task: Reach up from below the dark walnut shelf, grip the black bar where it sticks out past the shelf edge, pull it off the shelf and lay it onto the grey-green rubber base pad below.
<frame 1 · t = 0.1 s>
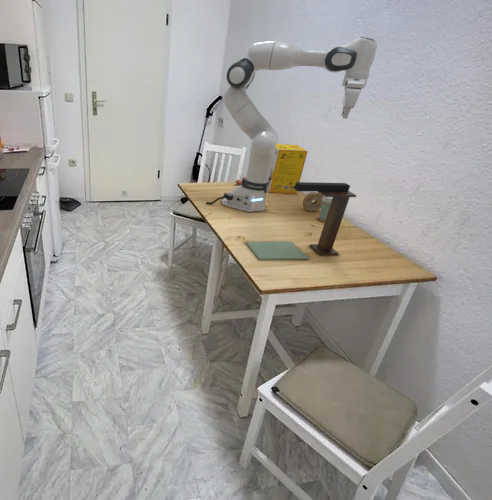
hand: (344, 117, 157), 48 cm above the table, tool pointing down, fingers open, 8 cm apart
base pad: (275, 251, 146), on the table
stone disc: (310, 210, 190), on the table
shelf stand: (300, 250, 148), on the table
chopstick: (242, 187, 218), on the table
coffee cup: (325, 220, 178), on the table
black bar: (321, 190, 136), point 26 cm above the table, touching shelf stand
packaging box: (278, 189, 220), on the table
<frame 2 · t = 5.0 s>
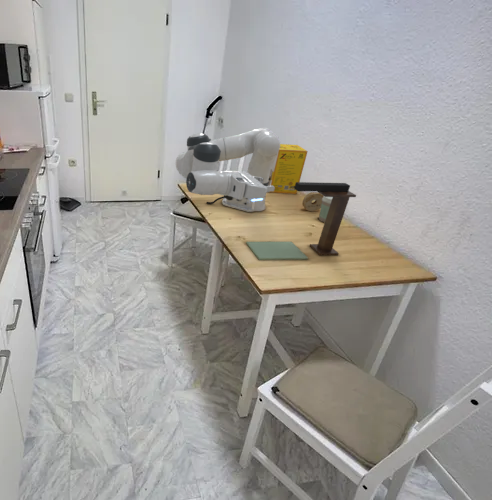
hand: (268, 184, 132), 28 cm above the table, tool horizontal, fingers open, 8 cm apart
nothing on the table moved.
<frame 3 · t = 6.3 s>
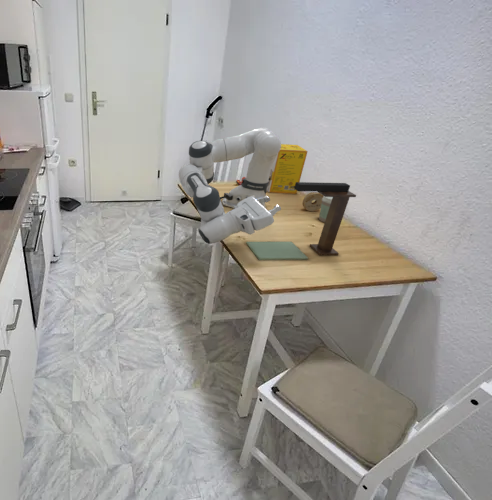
hand: (274, 202, 136), 21 cm above the table, tool pointing upward, fingers open, 8 cm apart
nothing on the table moved.
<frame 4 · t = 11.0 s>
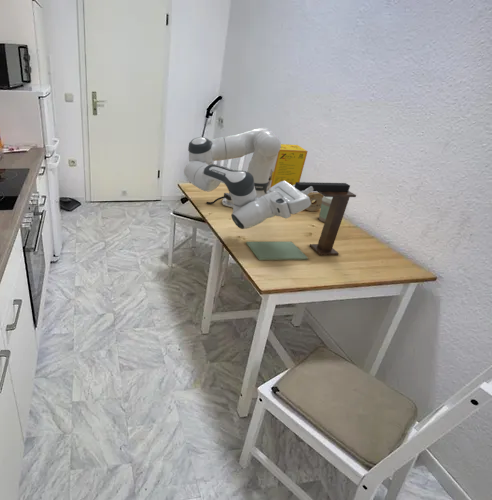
hand: (309, 185, 134), 28 cm above the table, tool pointing upward, fingers closed on black bar, 3 cm apart
black bar: (321, 190, 136), point 26 cm above the table, touching gripper, shelf stand
everything else where it was.
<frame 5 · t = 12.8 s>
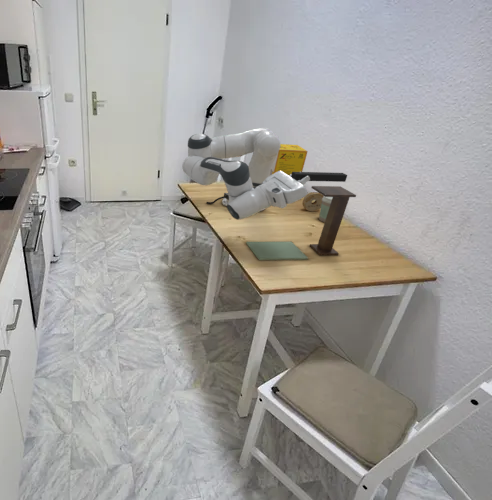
hand: (305, 175, 132), 32 cm above the table, tool pointing upward, fingers closed on black bar, 3 cm apart
black bar: (317, 180, 133), point 30 cm above the table, touching gripper
everything else where it was.
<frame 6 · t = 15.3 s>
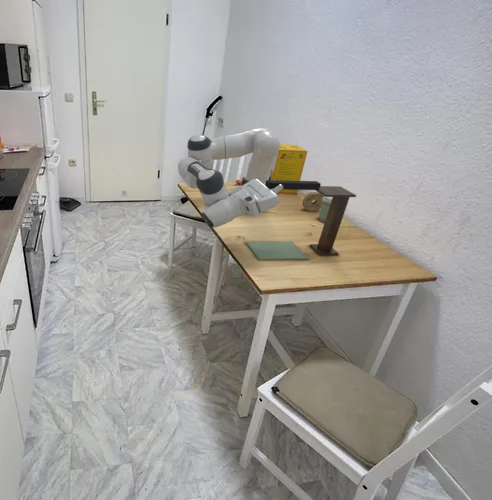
hand: (279, 184, 133), 28 cm above the table, tool pointing upward, fingers closed on black bar, 3 cm apart
black bar: (291, 188, 134), point 27 cm above the table, touching gripper
everything else where it was.
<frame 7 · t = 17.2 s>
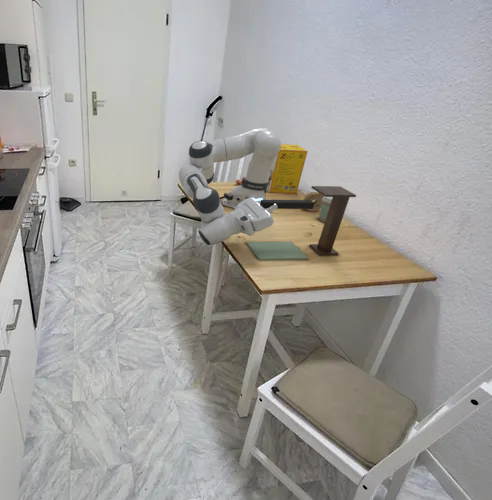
hand: (274, 203, 136), 21 cm above the table, tool pointing upward, fingers closed on black bar, 3 cm apart
black bar: (286, 207, 138), point 19 cm above the table, touching gripper
everything else where it was.
when the fingers open (15 cm above the table, at t = 19.2 s): black bar drops 13 cm, resting on base pad.
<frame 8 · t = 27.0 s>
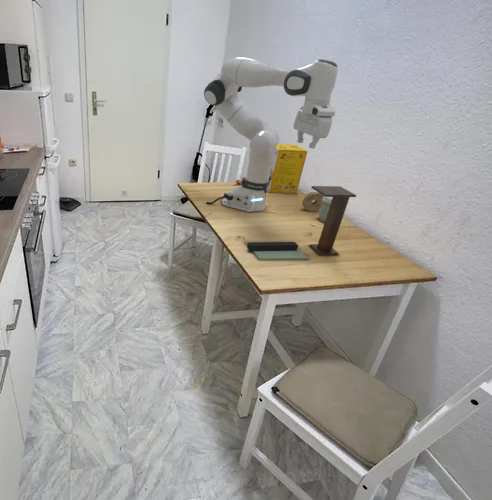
hand: (305, 145, 143), 39 cm above the table, tool pointing down, fingers open, 8 cm apart
black bar: (271, 249, 146), point 1 cm above the table, touching base pad
everything else where it was.
at the end: black bar 1.8 cm from the base pad (horizontally); black bar point 0.8 cm above the table; the gripper is holding nothing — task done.
